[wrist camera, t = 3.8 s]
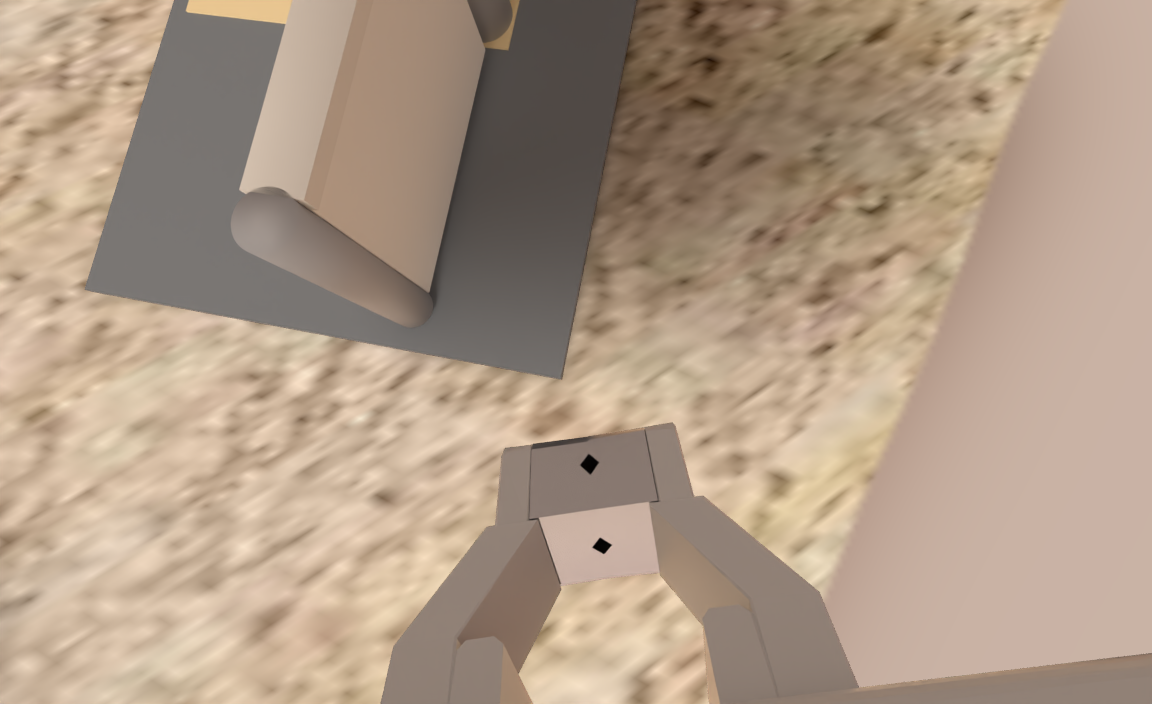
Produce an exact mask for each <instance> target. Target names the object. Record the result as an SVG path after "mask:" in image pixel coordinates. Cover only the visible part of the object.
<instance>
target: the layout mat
mask: <svg viewBox="0 0 1152 704" xmlns="http://www.w3.org/2000/svg"><path fill="white" fill-rule="evenodd" d="M636 2H637V0H510V3H511V7H512V12H513V17H512V21H511V24H510V26H509V28H508V30H507V31H506V32H505V33H504V34H503V35H502V36H501V37H499V38H498V39H496V40H494V41H491V42H487V43H483V44H484V47H485V54H484V59H483V63H482V67H481V71H480V76H479V80H478V84H477V89H476V93H475V97H474V102H473V106H472V110H471V115H470V119H469V123H468V128H467V132H466V136H465V141H464V145H463V149H462V154H461V158H460V162H459V166H458V171H457V175H456V179H455V184H454V188H453V192H452V197H451V201H450V205H449V210H448V214H447V218H446V223H445V227H444V231H443V236H442V240H441V244H440V248H439V253H438V257H437V261H436V266H435V270H434V274H433V279H432V283H431V287H430V292H429V294H430V296H431V298H432V301H433V311H432V314H431V316H430V318H429V319H428V320H427V321H426V322H425V323H424V324H422V325H421V326H418V327H415V328H408V327H404V326H402V325H400V324H398V323H396V322H393V321H391V320H389V319H387V318H385V317H383V316H381V315H379V314H377V313H375V312H372V311H370V310H368V309H366V308H364V307H362V306H360V305H358V304H356V303H354V302H352V301H349V300H347V299H345V298H343V297H341V296H339V295H337V294H335V293H333V292H331V291H328V290H326V289H324V288H322V287H320V286H318V285H316V284H314V283H312V282H310V281H308V280H305V279H303V278H301V277H299V276H297V275H295V274H293V273H291V272H289V271H287V270H284V269H282V268H280V267H278V266H276V265H274V264H272V263H270V262H268V261H266V260H264V259H261V258H259V257H257V256H255V255H253V254H251V253H249V252H247V251H245V250H243V249H242V248H241V247H240V246H239V245H238V244H237V243H236V241H235V240H234V238H233V235H232V232H231V217H232V214H233V211H234V209H235V207H236V205H237V203H238V202H239V201H240V200H241V198H242V197H244V196H245V195H246V194H245V193H243V192H242V191H240V190H239V188H240V185H241V181H242V178H243V174H244V171H245V167H246V163H247V160H248V156H249V153H250V149H251V146H252V142H253V139H254V135H255V131H256V128H257V124H258V121H259V117H260V114H261V110H262V107H263V103H264V99H265V96H266V92H267V89H268V85H269V82H270V78H271V75H272V71H273V67H274V64H275V60H276V57H277V53H278V50H279V46H280V43H281V39H282V35H283V32H284V28H285V25H286V21H287V18H288V14H289V10H290V7H291V3H292V0H174V2H173V6H172V9H171V12H170V15H169V19H168V22H167V25H166V28H165V32H164V35H163V38H162V41H161V44H160V48H159V51H158V54H157V57H156V61H155V64H154V67H153V70H152V74H151V77H150V80H149V83H148V86H147V90H146V93H145V96H144V99H143V103H142V106H141V109H140V112H139V116H138V119H137V122H136V125H135V128H134V132H133V135H132V138H131V141H130V145H129V148H128V151H127V154H126V157H125V161H124V164H123V167H122V170H121V174H120V177H119V180H118V183H117V187H116V190H115V193H114V196H113V199H112V203H111V206H110V209H109V212H108V216H107V219H106V222H105V225H104V229H103V232H102V235H101V238H100V241H99V245H98V248H97V251H96V254H95V258H94V261H93V264H92V267H91V271H90V274H89V277H88V280H87V283H86V287H85V290H88V291H92V292H97V293H102V294H107V295H113V296H118V297H123V298H129V299H134V300H139V301H145V302H150V303H155V304H161V305H166V306H171V307H177V308H182V309H187V310H193V311H198V312H203V313H209V314H214V315H219V316H225V317H230V318H235V319H241V320H246V321H251V322H257V323H262V324H268V325H273V326H278V327H284V328H289V329H294V330H300V331H305V332H310V333H316V334H321V335H326V336H332V337H337V338H342V339H348V340H353V341H358V342H364V343H369V344H374V345H380V346H385V347H390V348H396V349H401V350H406V351H412V352H417V353H422V354H428V355H433V356H438V357H444V358H449V359H455V360H460V361H465V362H471V363H476V364H481V365H487V366H492V367H497V368H503V369H508V370H513V371H519V372H524V373H529V374H535V375H540V376H545V377H551V378H556V379H561V380H562V376H563V371H564V366H565V361H566V356H567V350H568V345H569V340H570V335H571V330H572V325H573V320H574V315H575V310H576V305H577V300H578V295H579V290H580V285H581V280H582V275H583V270H584V265H585V259H586V254H587V249H588V244H589V239H590V234H591V229H592V224H593V219H594V214H595V209H596V204H597V199H598V194H599V189H600V184H601V179H602V174H603V169H604V163H605V158H606V153H607V148H608V143H609V138H610V133H611V128H612V123H613V118H614V113H615V108H616V103H617V98H618V93H619V88H620V83H621V78H622V72H623V67H624V62H625V57H626V52H627V47H628V42H629V37H630V32H631V27H632V22H633V17H634V12H635V7H636Z"/></svg>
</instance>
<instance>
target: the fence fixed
mask: <svg viewBox="0 0 1152 704" xmlns="http://www.w3.org/2000/svg"><path fill="white" fill-rule="evenodd" d="M467 2H468V4H469V7H470V10H471V12H472V15H473V18H474V20H475V23H476V26H477V28H478V31H479V34H480V36H481V39H482V42H483V43H487V42H491V41H494V40H496V39H498V38H499V37H501V36H502V35H503V34H504V33H505V32H506V31H507V30H508V28H509V26H510V24H511V21H512V17H513V12H512V7H511V3H510V0H467Z"/></svg>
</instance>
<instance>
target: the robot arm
mask: <svg viewBox="0 0 1152 704" xmlns="http://www.w3.org/2000/svg"><path fill="white" fill-rule="evenodd" d="M652 573H660V576H661V577H662V578H663V579H664V580H665V581H666V583H667V584H668V585H669V586H670V587H671V589H672V590H673V591H674V592H675V593H676V595H677V596H678V597H679V598H680V599H681V601H682V602H683V603H684V604H685V605H686V607H687V608H688V609H689V610H690V611H691V612H692V614H693V615H694V616H695V617H696V618H697V620H698V621H699V622H700V623H701V624H702V626H703V635H704V649H705V662H706V675H707V688H708V699H709V704H1152V653H1148V654H1140V655H1132V656H1123V657H1115V658H1107V659H1097V660H1090V661H1081V662H1072V663H1064V664H1055V665H1047V666H1039V667H1030V668H1022V669H1014V670H1005V671H997V672H988V673H979V674H971V675H962V676H954V677H945V678H937V679H928V680H920V681H911V682H903V683H895V684H887V685H877V686H869V687H860V688H859V686H858V684H857V681H856V679H855V676H854V674H853V672H852V669H851V667H850V664H849V662H848V660H847V657H846V655H845V652H844V650H843V648H842V645H841V643H840V640H839V638H838V636H837V633H836V631H835V628H834V626H833V624H832V621H831V619H830V616H829V614H828V612H827V609H826V607H825V604H824V602H823V599H822V597H821V595H820V592H819V591H818V590H816V589H815V588H814V587H813V586H812V585H810V584H809V583H808V582H807V581H806V580H804V579H803V578H802V577H801V576H799V575H798V574H797V573H796V572H795V571H793V570H792V569H791V568H790V567H789V566H787V565H786V564H785V563H784V562H783V561H781V560H780V559H779V558H778V557H777V556H775V555H774V554H773V553H772V552H771V551H769V550H768V549H767V548H766V547H764V546H763V545H762V544H761V543H760V542H758V541H757V540H756V539H755V538H754V537H752V536H751V535H750V534H749V533H748V532H746V531H745V530H744V529H743V528H742V527H740V526H739V525H738V524H737V523H735V522H734V521H733V520H732V519H731V518H729V517H728V516H727V515H726V514H725V513H723V512H722V511H721V510H720V509H719V508H717V507H716V506H715V505H714V504H713V503H711V502H710V501H709V500H708V499H707V498H705V497H704V496H696V497H694V494H693V491H692V487H691V483H690V479H689V475H688V472H687V468H686V464H685V460H684V456H683V453H682V449H681V445H680V441H679V438H678V434H677V430H676V426H675V425H674V424H673V423H666V424H660V425H654V426H648V427H645V429H644V428H636V429H630V430H624V431H618V432H612V433H606V434H600V435H594V436H588V437H583V438H575V439H567V440H559V441H552V442H544V443H536V444H533V445H526V446H518V447H510V448H505V449H504V451H503V453H502V456H501V467H500V478H499V488H498V499H497V510H496V521H495V525H494V526H488V527H486V528H485V529H484V531H483V532H482V533H481V535H480V536H479V537H478V538H477V540H476V541H475V542H474V544H473V545H472V546H471V547H470V549H469V550H468V551H467V553H466V554H465V555H464V556H463V558H462V559H461V560H460V562H459V563H458V564H457V565H456V567H455V568H454V569H453V571H452V572H451V573H450V574H449V576H448V577H447V578H446V580H445V581H444V582H443V583H442V585H441V586H440V587H439V589H438V590H437V591H436V592H435V594H434V595H433V596H432V598H431V599H430V600H429V601H428V603H427V604H426V605H425V607H424V608H423V609H422V610H421V612H420V613H419V614H418V616H417V617H416V618H415V619H414V621H413V622H412V623H411V625H410V626H409V627H408V628H407V630H406V631H405V632H404V634H403V635H402V636H401V637H400V639H399V640H398V641H397V643H396V644H395V645H394V646H393V651H392V655H391V660H390V664H389V669H388V673H387V677H386V682H385V686H384V691H383V695H382V700H381V704H533V703H532V701H531V699H530V697H529V695H528V693H527V691H526V689H525V687H524V685H523V683H522V681H521V679H520V677H519V675H518V674H519V672H520V670H521V668H522V666H523V664H524V662H525V660H526V658H527V656H528V654H529V652H530V650H531V648H532V646H533V644H534V642H535V640H536V638H537V636H538V634H539V632H540V630H541V628H542V626H543V624H544V622H545V620H546V619H547V617H548V615H549V613H550V611H551V609H552V607H553V605H554V603H555V601H556V599H557V597H558V595H559V593H560V591H561V587H560V586H564V585H570V584H576V583H583V582H589V581H595V580H601V579H607V578H615V577H624V576H634V575H643V574H652Z"/></svg>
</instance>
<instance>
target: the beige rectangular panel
mask: <svg viewBox="0 0 1152 704" xmlns="http://www.w3.org/2000/svg"><path fill="white" fill-rule="evenodd" d="M484 54H485V47H484V44H483V42H482V39H481V36H480V34H479V31H478V28H477V26H476V23H475V20H474V18H473V15H472V12H471V10H470V7H469V4H468V2H467V0H292V3H291V7H290V10H289V14H288V18H287V21H286V25H285V28H284V32H283V35H282V39H281V43H280V46H279V50H278V53H277V57H276V60H275V64H274V67H273V71H272V75H271V78H270V82H269V85H268V89H267V92H266V96H265V99H264V103H263V107H262V110H261V114H260V117H259V121H258V124H257V128H256V131H255V135H254V139H253V142H252V146H251V149H250V153H249V156H248V160H247V163H246V167H245V171H244V174H243V178H242V181H241V185H240V188H239V190H240V191H242V192H243V193H245V194H246V195H245V196H244V197H242V198H241V200H240V201H239V202H238V203H237V205H236V207H235V209H234V211H233V214H232V217H231V232H232V235H233V238H234V240H235V241H236V243H237V244H238V245H239V246H240V247H241V248H242V249H243V250H245V251H247V252H249V253H251V254H253V255H255V256H257V257H259V258H261V259H264V260H266V261H268V262H270V263H272V264H274V265H276V266H278V267H280V268H282V269H284V270H287V271H289V272H291V273H293V274H295V275H297V276H299V277H301V278H303V279H305V280H308V281H310V282H312V283H314V284H316V285H318V286H320V287H322V288H324V289H326V290H328V291H331V292H333V293H335V294H337V295H339V296H341V297H343V298H345V299H347V300H349V301H352V302H354V303H356V304H358V305H360V306H362V307H364V308H366V309H368V310H370V311H372V312H375V313H377V314H379V315H381V316H383V317H385V318H387V319H389V320H391V321H393V322H396V323H398V324H400V325H402V326H404V327H408V328H415V327H418V326H421V325H422V324H424V323H425V322H426V321H427V320H428V319H429V318H430V316H431V314H432V311H433V301H432V298H431V296H430V294H429V292H430V287H431V283H432V279H433V274H434V270H435V266H436V261H437V257H438V253H439V248H440V244H441V240H442V236H443V231H444V227H445V223H446V218H447V214H448V210H449V205H450V201H451V197H452V192H453V188H454V184H455V179H456V175H457V171H458V166H459V162H460V158H461V154H462V149H463V145H464V141H465V136H466V132H467V128H468V123H469V119H470V115H471V110H472V106H473V102H474V97H475V93H476V89H477V84H478V80H479V76H480V71H481V67H482V63H483V59H484Z"/></svg>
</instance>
